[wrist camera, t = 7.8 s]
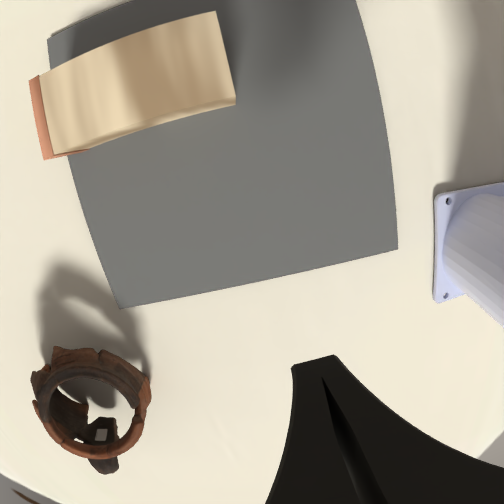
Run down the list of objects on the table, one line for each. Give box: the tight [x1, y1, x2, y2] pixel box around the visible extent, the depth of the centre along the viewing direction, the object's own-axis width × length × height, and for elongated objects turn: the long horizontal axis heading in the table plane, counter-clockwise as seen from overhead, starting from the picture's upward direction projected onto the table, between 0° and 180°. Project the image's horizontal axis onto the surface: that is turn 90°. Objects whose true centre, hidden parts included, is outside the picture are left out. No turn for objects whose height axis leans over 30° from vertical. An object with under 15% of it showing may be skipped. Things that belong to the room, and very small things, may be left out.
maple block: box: [29, 11, 236, 160], centre depth 13 cm, size 4×4×9 cm
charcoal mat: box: [47, 0, 398, 309], centre depth 16 cm, size 18×18×1 cm
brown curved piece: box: [30, 346, 151, 475], centre depth 20 cm, size 12×10×8 cm
